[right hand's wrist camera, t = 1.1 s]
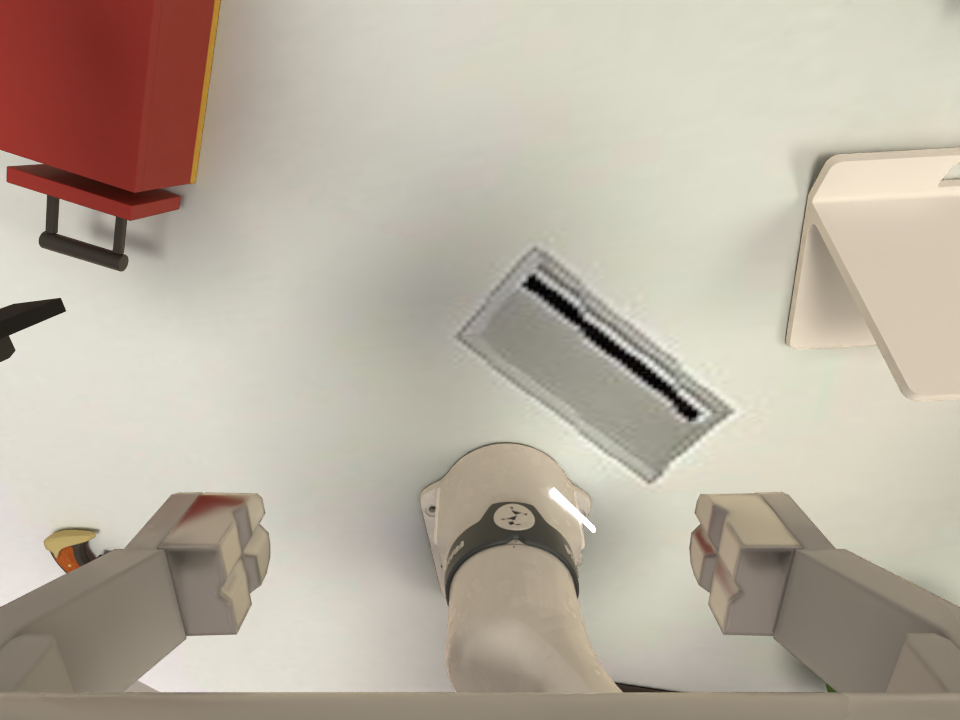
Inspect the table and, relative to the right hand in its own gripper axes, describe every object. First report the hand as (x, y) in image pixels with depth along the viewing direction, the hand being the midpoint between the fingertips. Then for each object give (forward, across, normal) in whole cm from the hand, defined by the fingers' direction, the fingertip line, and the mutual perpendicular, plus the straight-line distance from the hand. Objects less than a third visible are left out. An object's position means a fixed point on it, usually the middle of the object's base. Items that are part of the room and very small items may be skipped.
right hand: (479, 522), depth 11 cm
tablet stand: (+44, +42, -3) cm, 61 cm away
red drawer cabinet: (+44, -28, +13) cm, 54 cm away
